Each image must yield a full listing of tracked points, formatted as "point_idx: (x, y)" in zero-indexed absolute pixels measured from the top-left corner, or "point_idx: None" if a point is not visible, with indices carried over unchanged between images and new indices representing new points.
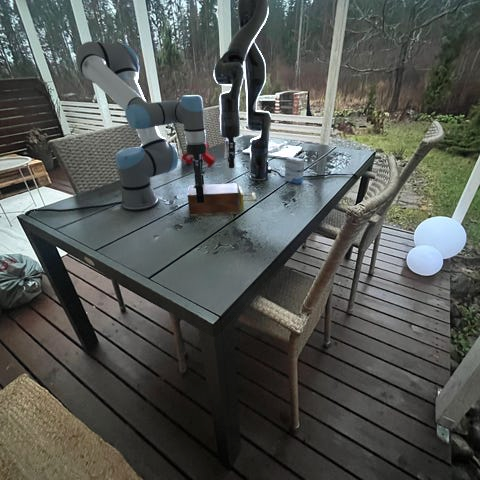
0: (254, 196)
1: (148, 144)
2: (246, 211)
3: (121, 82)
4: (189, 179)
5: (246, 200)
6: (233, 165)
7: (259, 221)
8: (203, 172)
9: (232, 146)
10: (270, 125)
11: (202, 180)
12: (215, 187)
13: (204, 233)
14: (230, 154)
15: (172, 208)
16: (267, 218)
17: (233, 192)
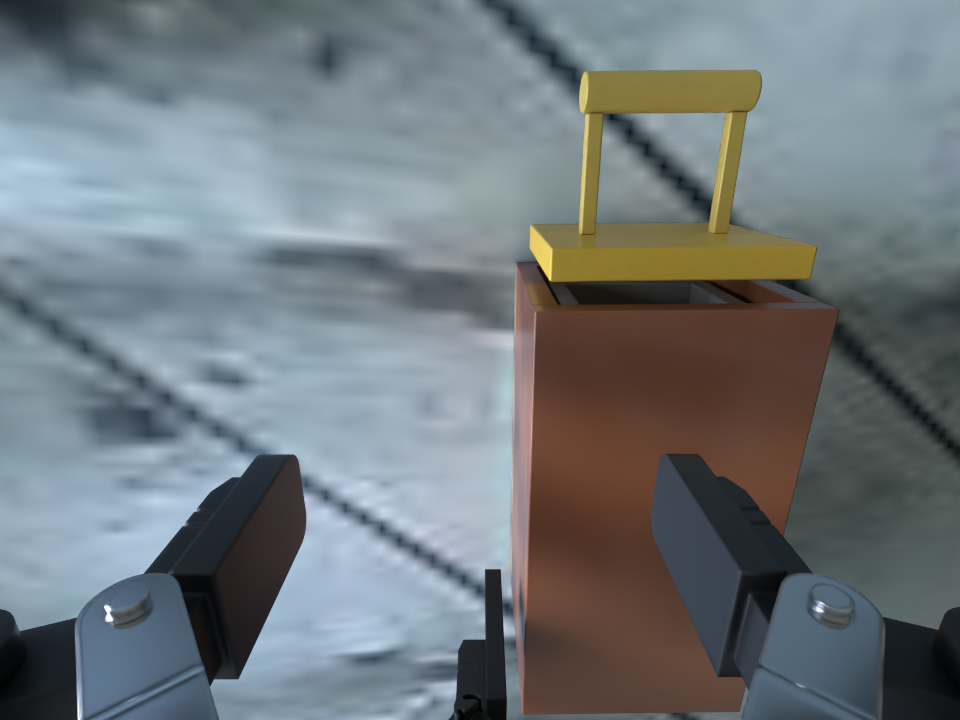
0: (697, 92)
1: None
2: (696, 189)
3: None
4: (15, 606)
5: (732, 195)
6: (710, 487)
7: (909, 96)
8: (471, 716)
9: None
10: None
11: (503, 653)
12: (624, 525)
13: (915, 489)
14: (236, 596)
15: None
16: (884, 4)
17: (812, 362)
